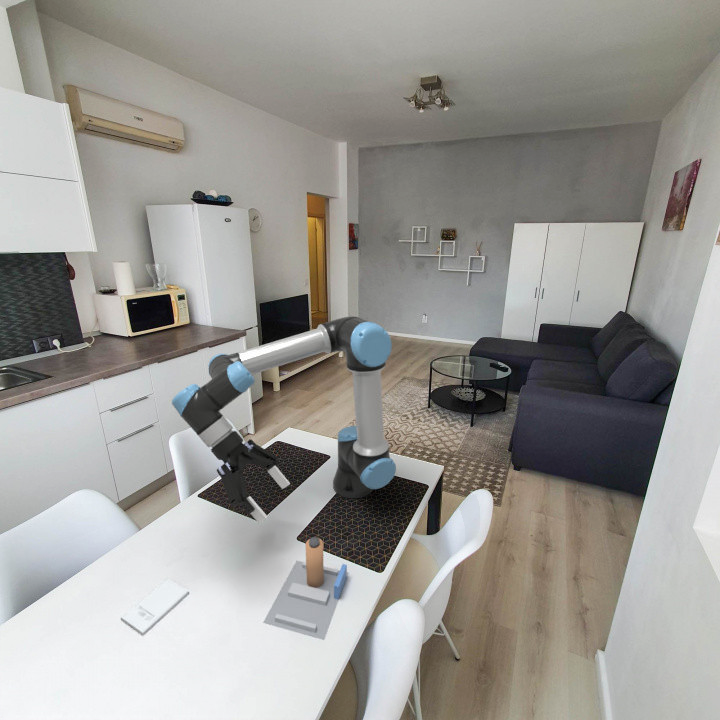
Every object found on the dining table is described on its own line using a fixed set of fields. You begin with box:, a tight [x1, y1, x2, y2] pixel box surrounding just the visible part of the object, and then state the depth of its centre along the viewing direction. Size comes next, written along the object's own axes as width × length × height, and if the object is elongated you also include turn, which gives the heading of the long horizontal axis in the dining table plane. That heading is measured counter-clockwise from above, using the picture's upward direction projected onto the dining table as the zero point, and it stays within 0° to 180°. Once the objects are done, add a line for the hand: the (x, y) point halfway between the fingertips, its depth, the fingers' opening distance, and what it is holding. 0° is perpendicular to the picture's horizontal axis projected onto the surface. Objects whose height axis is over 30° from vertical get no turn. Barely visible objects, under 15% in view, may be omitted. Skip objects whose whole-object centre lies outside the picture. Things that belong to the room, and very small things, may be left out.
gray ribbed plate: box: [263, 560, 349, 641], centre depth 95 cm, size 15×19×5 cm
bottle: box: [305, 536, 324, 588], centre depth 98 cm, size 4×4×13 cm
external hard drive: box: [120, 578, 190, 636], centre depth 93 cm, size 2×8×12 cm
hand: (275, 501), depth 98 cm, fingers open, 13 cm apart
